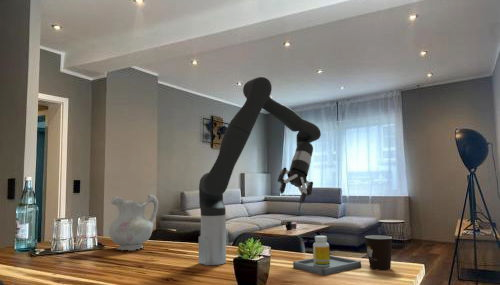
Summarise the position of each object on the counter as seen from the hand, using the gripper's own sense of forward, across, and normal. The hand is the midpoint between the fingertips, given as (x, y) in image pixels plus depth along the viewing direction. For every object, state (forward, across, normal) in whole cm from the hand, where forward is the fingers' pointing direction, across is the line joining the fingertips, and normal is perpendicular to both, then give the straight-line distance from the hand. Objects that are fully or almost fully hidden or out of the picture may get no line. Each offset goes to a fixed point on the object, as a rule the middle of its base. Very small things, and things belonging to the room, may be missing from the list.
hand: (291, 197), depth 138 cm
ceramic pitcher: (+26, -44, +62) cm, 80 cm away
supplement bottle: (+23, +14, -8) cm, 28 cm away
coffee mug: (+18, +31, -16) cm, 39 cm away
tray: (+23, +16, -8) cm, 29 cm away
